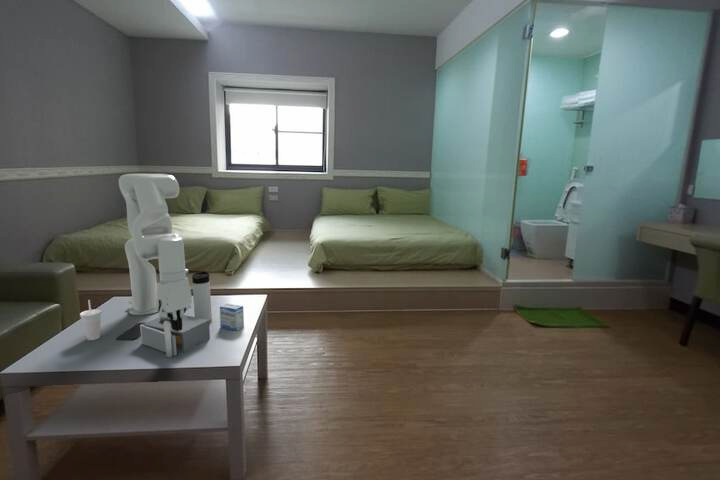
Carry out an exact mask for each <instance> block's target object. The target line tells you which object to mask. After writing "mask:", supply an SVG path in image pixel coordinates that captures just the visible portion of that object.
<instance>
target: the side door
mask: <svg viewBox="0 0 720 480" xmlns="http://www.w3.org/2000/svg"><path fill="white" fill-rule="evenodd" d="M140 331H141V336H140V340H141V345H145V346H148V347H150V348H152V349H155V350H157V351H161V352H163V353H166V354H165V356H166V358H172V357H173V356H174V357H175V356H177V352H178V351H176V338H175V336H174V335H171V329H170V321H165V322H164V332H162V331H159V330H156V329H153V328H150V327H147V326H144V325H140Z"/></svg>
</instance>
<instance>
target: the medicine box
mask: <svg viewBox="0 0 720 480" xmlns="http://www.w3.org/2000/svg"><path fill="white" fill-rule="evenodd" d="M219 323H220V325H219V327H220V329H225V330H230V331H240V330H242V329H243V328H244V327H245V316H244V306H243V305H238V304H231V303H224V304H222V305H221V306H219Z"/></svg>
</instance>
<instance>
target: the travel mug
mask: <svg viewBox="0 0 720 480" xmlns="http://www.w3.org/2000/svg"><path fill="white" fill-rule="evenodd" d="M191 276H192V277H191V280H192V294H193V295H192V296H193V299H192V300H193V307H194V308H193V312H194V317H197V318H202V319H207V320H209V324H211V322H212V321H213V319H212V300H211V299H212V298H211V283H210V282H211V281H210V273H209V272H208V271H207V270H205V271H199V272H196V273H194V274H192V275H191Z"/></svg>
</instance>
